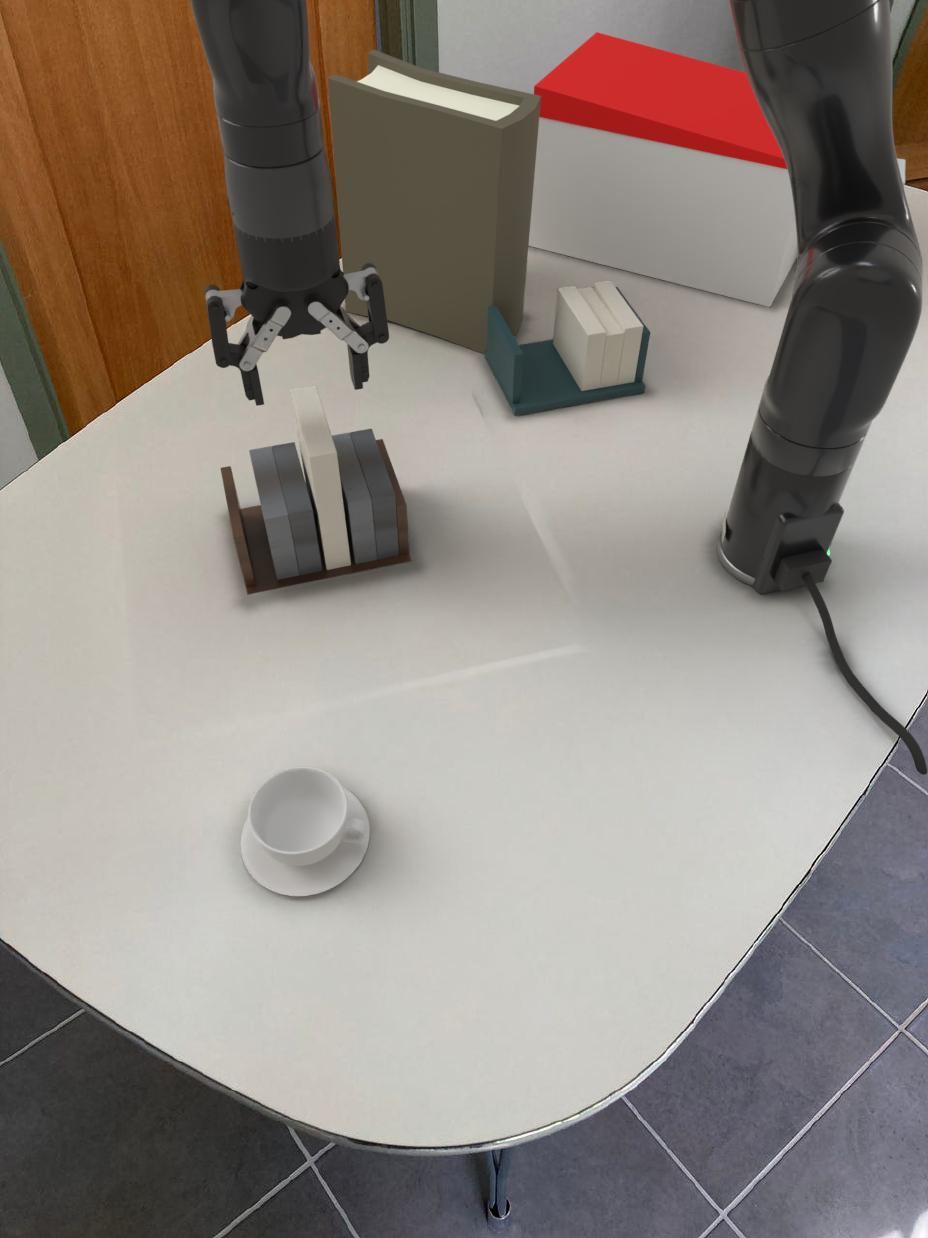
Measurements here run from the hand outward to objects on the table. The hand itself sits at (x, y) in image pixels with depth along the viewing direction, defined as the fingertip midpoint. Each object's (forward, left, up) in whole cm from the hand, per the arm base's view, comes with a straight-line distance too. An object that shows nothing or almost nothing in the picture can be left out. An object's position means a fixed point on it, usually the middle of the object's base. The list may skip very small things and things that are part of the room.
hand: (308, 391), depth 82 cm
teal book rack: (+20, -32, -18) cm, 42 cm away
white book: (0, 0, -17) cm, 17 cm away
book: (+36, -21, -18) cm, 45 cm away
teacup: (-32, +8, -18) cm, 38 cm away
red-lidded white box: (+46, -57, -18) cm, 75 cm away
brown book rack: (0, +1, -18) cm, 18 cm away
